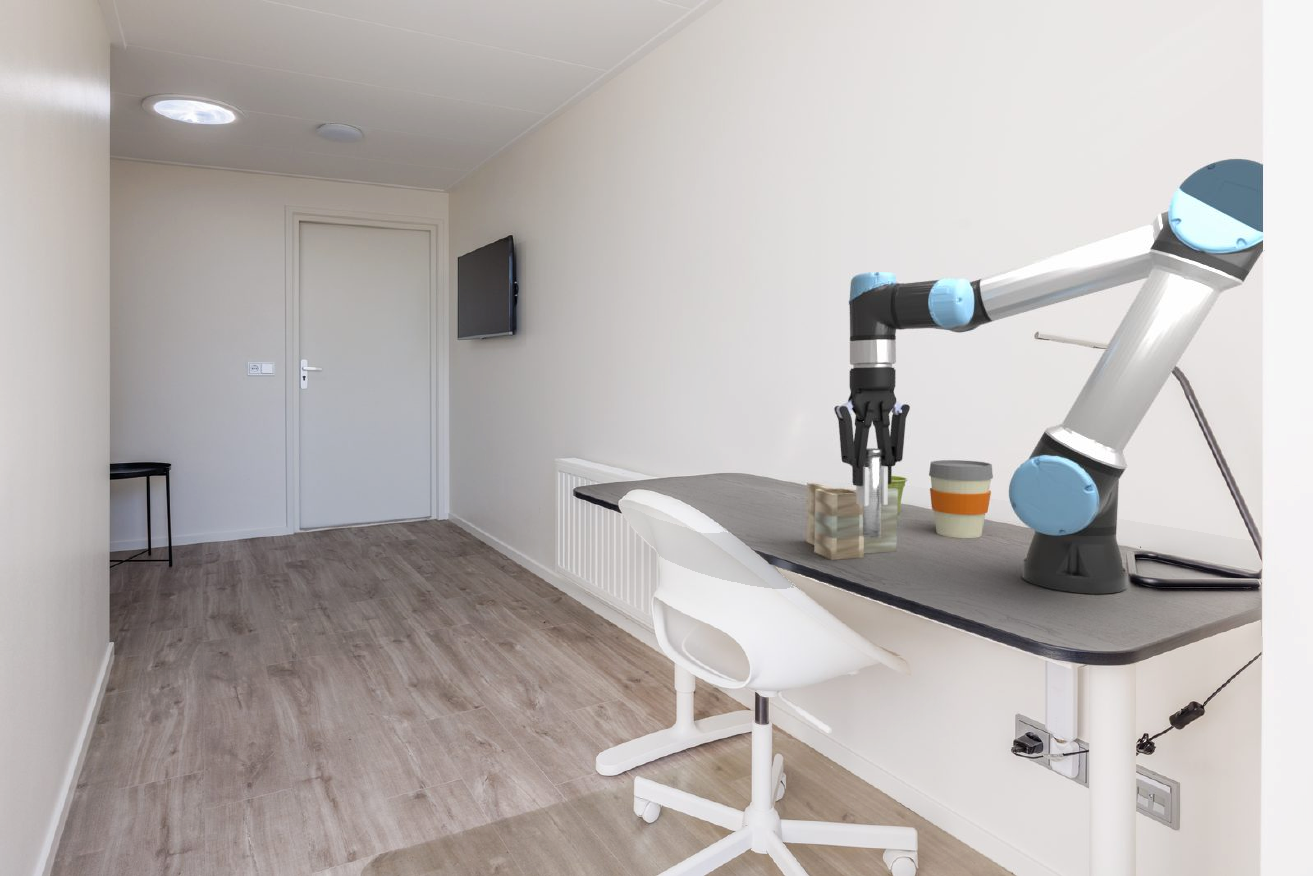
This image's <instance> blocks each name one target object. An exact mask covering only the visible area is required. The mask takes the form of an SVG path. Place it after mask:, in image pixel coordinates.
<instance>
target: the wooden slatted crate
mask: <svg viewBox="0 0 1313 876" xmlns="http://www.w3.org/2000/svg"><path fill="white" fill-rule="evenodd" d="M897 504H898V489H896V488H888V505H882V504H881V537H879V538H867V537H863V505H859V504H856V489H851V488H848V487H840V488H838V487H837V488H833V487H829V486H826V485H823V484H819V483H814V482H807V483H806V530H805V531H806V532H805V533H806V536H805V541H806V543H808V544H811V545H813V546H814V547H813V548H814V553H816V554H818V555H821V556H822V557H825V558H826V559H829V560H830V561H833V560H836V561H837V560H846V559H848V560H849V559H860V558H862V559H863V558H865V557H864V554H874V553H877V554H878V553H891V552H897V546H898V545H897V541H898V540H897V538H898V537H897V536H898V514H897Z"/></svg>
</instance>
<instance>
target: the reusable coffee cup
mask: <svg viewBox="0 0 1313 876" xmlns="http://www.w3.org/2000/svg"><path fill="white" fill-rule="evenodd" d="M929 465H930V466H929V471H928V472H929V473H928V475H929V477H930V482H931V483H930V484H931V487H930V488H929V492H930V502H931V509H932V511H933V512H934V513H933V514H934V521H935V531H936V534H937V535H940V536H942V537H943V536H944V537H948V538H956V539H959V538H960V539H976V538H980V537H982V535H983V530H984V529H983V528H984V523H985V522H984V521H985V518H986V517H985V515H986V514H987V513H988V511H989V507H990V499H991V494H992V491H991V490H990V486H991V481H992V479H993V478H994V475H993V464H992V463H990V462H984V461H979V460H978V461H976V460H957V459H954V460H953V459H951V460H950V459H949V460H948V459H947V460H945V459H943V460H933V461H931V462H930V464H929Z"/></svg>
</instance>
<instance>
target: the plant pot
mask: <svg viewBox="0 0 1313 876" xmlns="http://www.w3.org/2000/svg"><path fill="white" fill-rule="evenodd" d="M891 476H892V481H891V484H888V488H896V489H898V504H897V515H899V514H900V510H901V509H900V508H901V503H902V498H903V497H902V496H903V491H904V488H905V486H906V482H907V481H908V478H907V477H904V476H898V475H891Z"/></svg>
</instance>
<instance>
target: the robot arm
mask: <svg viewBox="0 0 1313 876" xmlns="http://www.w3.org/2000/svg"><path fill="white" fill-rule="evenodd" d="M1263 165H1264V164H1263V163H1260V162H1257V161H1255V160H1251V159H1244V158H1231V159H1230V158H1228V159H1223V160H1218V161H1215V162H1212V163H1209V164H1206V165H1205V166H1203V167H1201V168H1199V169H1197V170H1196V171H1194V172H1193V173H1192V174H1190V175H1189V176H1188V177H1187V178H1185V180H1184V181H1183V182H1182V183H1181V184H1180V185H1179V187H1178V188H1177V190H1176V191H1175V192H1174V194H1173V196H1172V197H1171V202H1170V205H1169V207H1168V210H1167V211H1165V212H1162V213H1159V214H1158V215H1157V216H1156V218H1155V219H1154V220H1153V222H1151V223H1150V224H1147V225H1144V226H1140V227H1138V228H1135V229H1132V230H1129V231H1125V232H1122V233H1120V234H1116V235H1113V236H1110V237H1107V238H1104V239H1100V240H1098V241H1094V242H1090V243H1088V244H1085V245H1082V246H1079V247H1076V248H1073V249H1069V250H1067V251H1063V252H1060V253H1057V254H1054V255H1051V256H1047V257H1045V258H1041V259H1039V260H1035V261H1032V262H1029V263H1026V264H1023V265H1020V266H1017V267H1014V268H1011V269H1007V270H1004V271H1001V272H999V273H995V274H992V275H989V276H985V277H981V278H980V279H977V280H973V281H969V280H968V279H966V278H948V277H947V278H946V277H945V278H941V279H934V280H928V281H927V280H926V281H915V282H907V283H904V282H903V283H900V282H899V283H898V282H897V277H896V275H895V274H894V273H893V272H889V271H888V272H887V271H886V272H885V271H878V272H864V273H859V274H856V275H854V276H853V277H852V279H851V280H850V285H849V286H850V289H849V300H848V305H849V364H850V365H851V366H853V367H852V368H850V370H849V391H850V395H849V396H848V399H847V402H845V403H844V404H843V403H842V404H841V405H836V406H835V407H834V409H833V410H834V414H835V415H836V417H837V420H838V428H839V429H838V432H839V434H838V435H839V444H840V445H839V446H840V455H841V456H840V457H841V461H842V463H844V464H847V465H850V466H851V467H852V469H851V470H852V476H851V477H852V480H851V481H852V485H853V486H856V489H855V490H856V504H859V505H863V506H869V468H868V467H863V466H864V465H865V458H866V450H867V448H868V442H869V434H870V429H871V427H872V425H873V427H874V430H875V431H874V432H875V438H876V446H877V449H882V455H881V504H882V505H888V484H891V481H892V476H893V475H892V472H893V471H892V470H893V469H892V467H895V466H896V463H900V462H902V461H903V457H904V456H903V455H904V446H905V444H904V443H905V432H906V419H907V417H908V414H909V411H910V410H911V406H910V405H909V404H907V403H904V404H903V403H901V402H900V401H898V400H897V398H896V395H895V388H896V378H897V377H896V375H897V374H896V369H895V367H893V365H895V364H896V363H897V353H896V352H897V351H896V350H897V349H896V347H897V346H896V345H897V344H896V343H897V342H896V339H897V338H896V337H897V336H896V334H897V330H899V331H900V330H901V331H902V330H913V329H915V330H916V329H934V330H944V331H949V332H950V331H951V332H953V333H957V334H958V333H966V332H972V331H973V330H975V329H977V328H978V327H980V326H981V325H982V326H983V325H985V324H989V323H991V322H995V321H999V320H1002V319H1005V318H1009V317H1013V316H1016V315H1019V314H1024V313H1026V312H1029V311H1034V310H1038V309H1041V308H1044V307H1049V306H1051V305H1056V304H1058V303H1061V302H1063V303H1064V302H1066V301H1069V300H1073V299H1077V298H1080V297H1083V296H1086V295H1090V294H1094V293H1097V292H1101V291H1104V290H1108V289H1112V288H1115V287H1119V286H1122V285H1127V284H1130V283H1134V282H1136V281H1140V280H1143V279H1145V281H1144V283H1143V285H1142V286H1141V288H1140V290H1138V292H1137V295H1136V296H1135V298H1134V300H1133V301H1132V303H1131V305H1130V307H1129V308H1128V310H1127V312H1126V314H1125V315H1124V316H1123V319H1122V320H1121V322H1120V324H1119V325H1118V327H1117V329H1116V330H1115V332H1114V333H1113V336H1112V338H1111V339H1110V340H1109V343H1108V344H1107V346H1106V348H1104V349H1105V350H1104V351H1103V353H1102V354H1101V356H1100V358H1099V360H1098V362H1097V363H1096V365H1095V367H1094V368H1093V369H1092V371H1091V373H1090V375H1089V377H1088V379H1087V380H1086V382H1085V384H1084V386H1083V387H1082V389H1081V390H1080V392H1079V394H1078V396H1077V398H1076V399H1075V401H1074V402H1073V404H1072V406H1071V407H1070V409H1069V411H1068V413H1067V414H1066V416H1065V417H1064V419H1063V421H1062V423H1060V424H1058V425H1057V424H1056V425H1053V426H1049V427H1047V428H1045V430H1044V432H1043V433H1042V435H1041V437H1040V438H1039V440H1038V441H1037V444H1036V445H1035V447H1034V449H1033V450H1032V453H1031V454H1030V456H1029V457H1028V459H1027V460H1025V461H1024V462H1022V463H1021V464H1020V465H1019V466H1018V467H1017V468H1016V470H1015V471H1014V472H1013V475H1012V477H1011V480H1010V481H1009V485H1008V499H1009V503H1010V506H1011V508H1012V511H1013V512H1014V514H1015V515H1016V516H1017V518H1018V519H1019V520H1020V521H1021V522H1022V523H1023V524H1024V525H1026V526H1027V527H1028V528H1030V529H1032V530H1033V531H1034V534H1033V537H1032V539H1031V542H1030V545H1029V548H1028V551H1027V554H1026V557H1025V558H1024V559H1023V560H1022V561H1023V562H1022V564H1021V577H1022V578H1023V580H1025V581H1026V582H1028V583H1031V584H1033V585H1036V586H1040V587H1042V588H1048V589H1051V590H1055V591H1057V590H1058V591H1062V592H1070V593H1079V594H1096V595H1097V594H1115V593H1120V592H1123V591H1125V590H1127V588H1128V585H1127V584H1128V572H1127V570H1126V569H1125V568H1124V565H1123V560H1122V555H1121V551H1120V547H1119V543H1118V541H1117V527H1118V526H1117V525H1118V508H1119V506H1118V505H1119V502H1118V501H1119V485H1120V484H1119V481H1120V478H1121V477H1122V476H1123V474H1124V472H1125V471H1126V469H1127V467H1128V465H1127V460H1126V459H1125V456H1124V449H1125V448H1126V446H1127V444H1129V442H1130V440H1131V439H1132V437H1133V435H1134V434H1135V432H1136V431H1137V429H1138V427H1139V425H1140V424H1141V422H1142V421H1143V419H1144V417H1145V416H1146V414H1147V412H1148V411H1149V409H1150V408H1151V406H1152V404H1153V403H1154V402H1155V400H1156V398H1157V396H1158V395H1159V394H1160V392H1161V390H1162V389H1163V387H1164V386H1165V384H1166V382H1167V381H1168V379H1169V377H1170V375H1171V374H1172V372H1173V371H1174V369H1175V368H1176V366H1177V365H1178V363H1179V361H1180V359H1181V358H1182V356H1183V354H1184V353H1185V351H1186V350H1187V348H1188V347H1189V345H1190V343H1191V342H1192V340H1193V339H1194V337H1195V335H1196V334H1197V332H1198V331H1199V329H1200V327H1201V325H1202V324H1203V322H1204V321H1205V319H1206V318H1207V316H1208V314H1209V313H1210V311H1211V310H1212V308H1213V307H1214V305H1215V303H1216V301H1217V300H1218V298H1219V297H1220V295H1221V293H1223V292H1225V291H1227V290H1230V289H1232V288H1236V287H1239V286H1241V285H1242V284H1243V283H1244V282H1245V280H1246V279H1247V277H1248V275H1249V273H1250V272H1251V270H1252V269H1253V267H1254V266H1255V264H1256V263H1257V261H1258V260H1259V258H1260V257H1261V255H1262V253H1263V252H1264V251H1263ZM891 412H892V416H891V420H890V413H891ZM853 413H854V415H855V419H854V426H855V431H854V430H853V429H854V428H853V427H854V426H853V419H852V414H853Z"/></svg>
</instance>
